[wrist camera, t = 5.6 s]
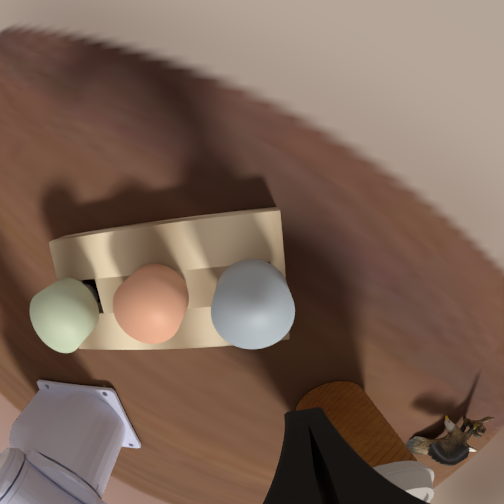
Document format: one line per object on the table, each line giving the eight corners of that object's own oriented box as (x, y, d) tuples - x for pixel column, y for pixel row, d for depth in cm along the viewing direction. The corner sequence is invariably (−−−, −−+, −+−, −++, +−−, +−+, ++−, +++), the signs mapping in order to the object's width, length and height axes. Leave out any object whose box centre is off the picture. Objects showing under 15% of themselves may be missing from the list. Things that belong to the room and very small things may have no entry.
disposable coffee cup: (288, 362, 21) (318, 502, 9) (397, 363, 21) (468, 465, 10) (267, 441, 23) (276, 553, 11) (361, 438, 24) (397, 533, 12)
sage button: (73, 321, 18) (42, 351, 14) (58, 270, 17) (22, 292, 13) (117, 320, 18) (90, 354, 14) (103, 265, 17) (69, 289, 13)
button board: (90, 336, 20) (79, 348, 18) (64, 235, 18) (48, 241, 16) (286, 324, 20) (289, 339, 18) (276, 206, 18) (280, 210, 16)
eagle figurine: (480, 390, 22) (421, 435, 21) (504, 437, 17) (446, 488, 16) (450, 408, 27) (395, 445, 26) (470, 449, 23) (416, 489, 21)
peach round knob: (145, 312, 19) (123, 344, 15) (132, 258, 18) (105, 280, 14) (198, 308, 19) (187, 342, 15) (189, 252, 18) (173, 274, 14)
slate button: (223, 314, 18) (217, 352, 14) (214, 253, 17) (204, 278, 13) (285, 307, 18) (296, 344, 14) (281, 246, 17) (292, 269, 13)
